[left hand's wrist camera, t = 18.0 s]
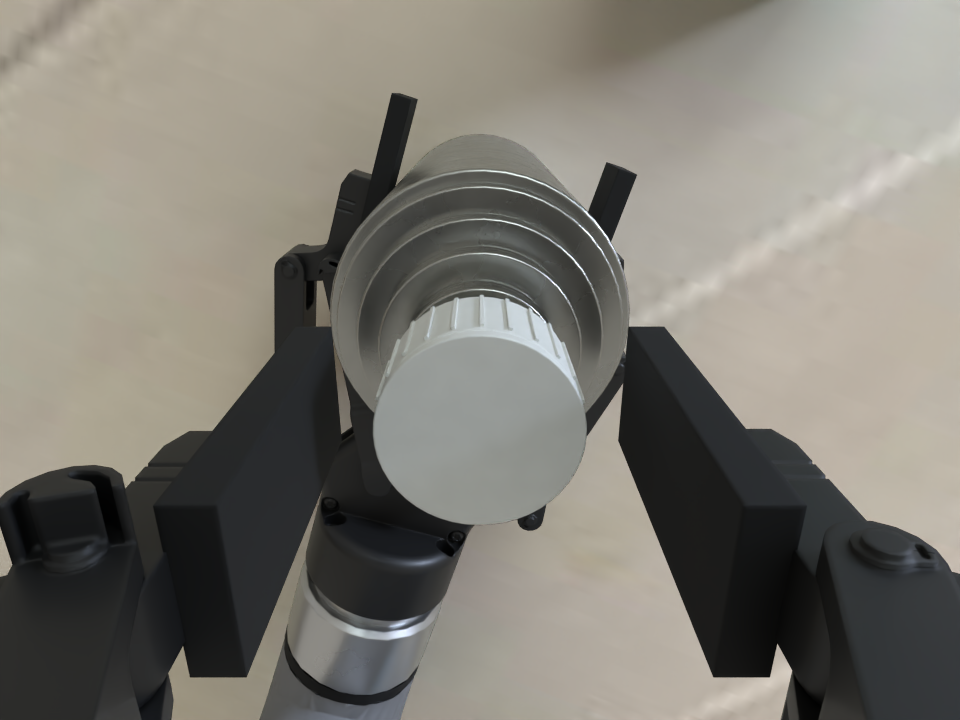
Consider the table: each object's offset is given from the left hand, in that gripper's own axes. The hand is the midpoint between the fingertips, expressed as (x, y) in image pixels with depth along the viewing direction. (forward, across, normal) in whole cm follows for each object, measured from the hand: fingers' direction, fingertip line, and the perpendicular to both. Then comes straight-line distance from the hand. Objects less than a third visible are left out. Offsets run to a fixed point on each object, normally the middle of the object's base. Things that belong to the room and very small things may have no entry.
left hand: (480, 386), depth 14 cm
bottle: (+21, 0, 0) cm, 21 cm away
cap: (-2, 0, 0) cm, 2 cm away
